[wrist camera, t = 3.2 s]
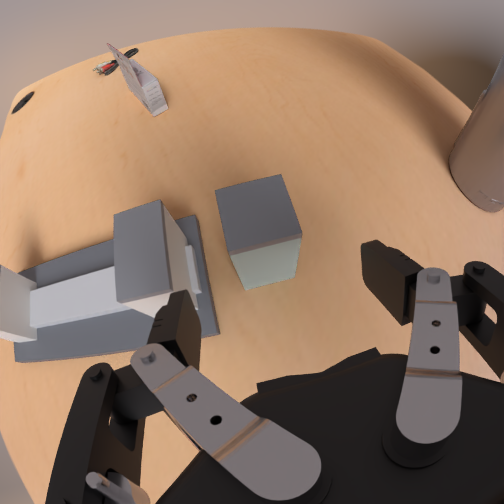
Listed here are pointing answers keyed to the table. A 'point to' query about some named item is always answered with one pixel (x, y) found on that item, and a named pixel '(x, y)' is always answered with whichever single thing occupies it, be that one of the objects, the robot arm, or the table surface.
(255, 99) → the table surface
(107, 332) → the board
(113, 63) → the composite cable
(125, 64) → the ink cartridge box
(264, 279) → the block
